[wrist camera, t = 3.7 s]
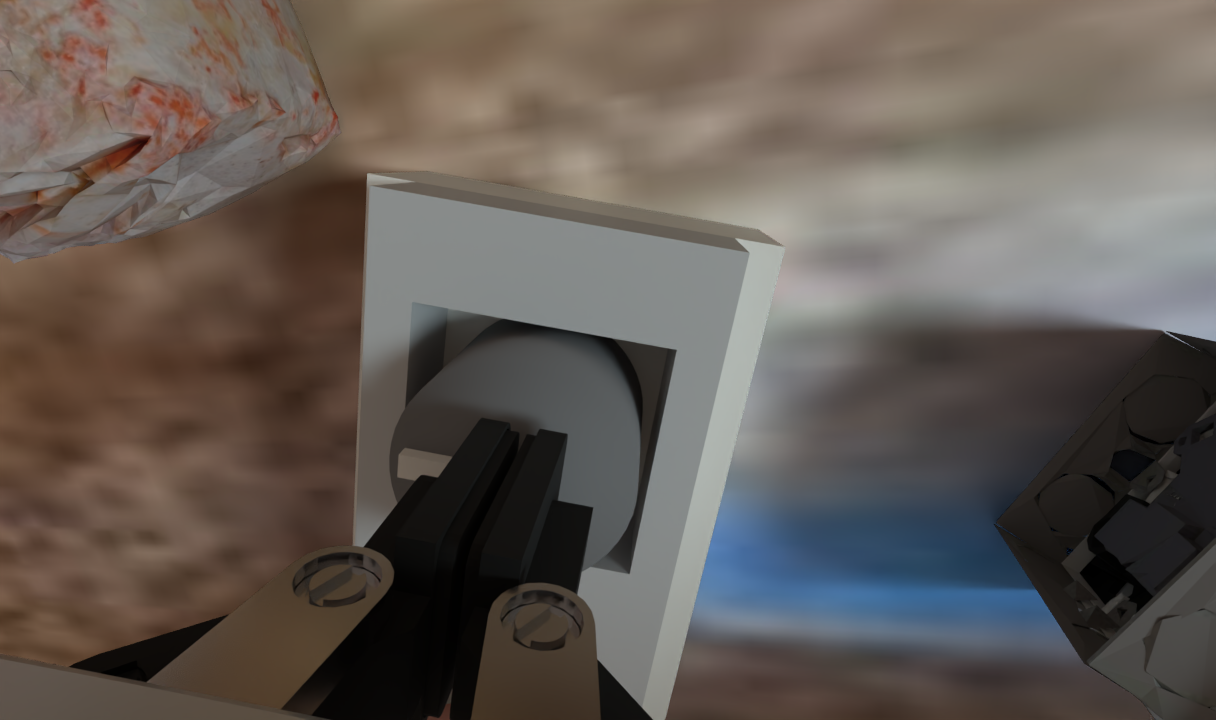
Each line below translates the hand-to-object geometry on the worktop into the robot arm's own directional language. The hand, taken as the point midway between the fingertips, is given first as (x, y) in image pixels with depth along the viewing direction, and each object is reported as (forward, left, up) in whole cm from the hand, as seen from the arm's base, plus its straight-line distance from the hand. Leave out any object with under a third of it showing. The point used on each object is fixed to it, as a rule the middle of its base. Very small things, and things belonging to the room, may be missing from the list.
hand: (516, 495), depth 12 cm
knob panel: (0, +10, -9) cm, 13 cm away
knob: (0, 0, -4) cm, 5 cm away
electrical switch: (-17, 0, -9) cm, 19 cm away
